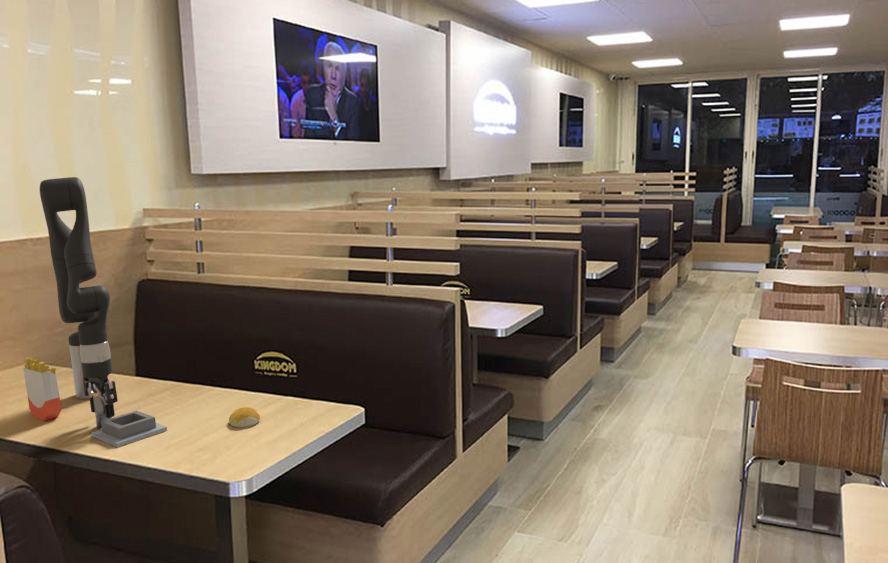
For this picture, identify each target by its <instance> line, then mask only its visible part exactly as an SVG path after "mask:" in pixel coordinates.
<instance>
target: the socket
mask: <svg viewBox="0 0 888 563" xmlns="http://www.w3.org/2000/svg"><path fill="white" fill-rule="evenodd" d="M101 426H102V429H99V430H96V431H93V432H91V437H92V438H96V439H97V440H100V441H102V442H105V443H106V444H109V445H111V446H113V445H114V447H115V448H119V446H120V447H123V446H126V445H128V444H131V442H132V443H134V441H135V442H137V441H140V440H143V439H145V438H149V437H152V436H156V435H158V434H160V433H161V434H162V433H164V432H166V431H168V427H167V426H165V425H163V424H160V423H158V422H156V416H153V415H150V414H147V413H144V412H141V411H138V410H134V411H129V412H128V413H124V414H120V415H118V416H114V417H112V418H110V419H107V420H104V421H101ZM125 444H126V445H125ZM122 445H123V446H122Z"/></svg>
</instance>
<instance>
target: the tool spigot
mask: <svg viewBox="0 0 888 563" xmlns="http://www.w3.org/2000/svg"><path fill="white" fill-rule="evenodd" d="M93 400H94V408H95V412H94V414H95V423H96V428H97V429H99V430H102V426H101V421H104V420H107V419H110V418H107V417H106V415H105V407H104V405H105V404H104V402H103V400H102V399H100V398H99V396H98V393H95V392H93ZM106 400H107V399H106ZM111 418H113V417H111Z"/></svg>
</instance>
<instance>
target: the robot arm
mask: <svg viewBox="0 0 888 563" xmlns="http://www.w3.org/2000/svg"><path fill="white" fill-rule="evenodd" d="M39 197H40V200H41V202H40V203H41V206H42V210H43V215H44V218H45V221H46V222H45V223H46V227H47V233H48V238H49V239H48V240H49V249H50V256H51V257H50V258H51V261H52V266H53V271H54V277H55V281H56V289H57V300H58V311H59V315H60V319H61V320H62V321H63V323H65V324H75V323H79V324H77V325H78V326H77V331H75V332H73V333H72V334H70V335H69V336H68V344H69V345H68V347H69V353H70V360H71V361H70V362H71V366H72V367H71V368H72V369H71V370H72V376H73V383H74V384H73V385H74V392H75V398H77V399H81V400H82V399H84V400H85V399H88V400H89V404H90V405H89V406H90V412H92V413H95V408H94V400H93V392H95V393H98V396H99V398H100V399H102V400H103V402H104V404H105V405H104V407H105V415H106V417H107V418H111V417H112V418H113V417H116V415H115V406H114V404H115V403H117V402H118V392H117V386H116V381H115V380H112V381H111V380H109V375H111V374H112V373H113V371H114V370H113V362H112V354H111V347H110V345H109V339H108V337H109V336H108V330H107V321H108V320H107V318H108V312H109V308H110V307H109V306H110V302H111V297H110V295H111V294H110V292H109V290H108V289H107V287H105V286H104V285H94V286H85V287H80V285H81V284H82V283H84V282H88V281H90V280H93V279H95V278H96V276H97V274H98V273H97V272H98V271H97V266H96V263H95V259H94V254H93V248H92V243H91V242H92V241H91V235H90V234H91V232H90V222H89V221H90V220H89V211H88V204H87V196H86V190H85V187H84V184H83V182H82V180H81V179H80V178H79V177H76V176H72V177H71V176H69V177H60V178H59V177H58V178H50V179H43V180H41V181H40V184H39ZM70 211H75V221H74V224H73V226H72V227H73V228H72V229H71V228H70V227H69V226H68V225H67V224H66V223H65V221H63V220H62V218H61V217H60V216H59V214H58V213H60V212H70ZM106 399H107V400H106Z"/></svg>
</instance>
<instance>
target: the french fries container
mask: <svg viewBox="0 0 888 563" xmlns="http://www.w3.org/2000/svg"><path fill="white" fill-rule="evenodd" d="M24 362H25V363H24V367H23V374H24V380H25V381H24V382H25V389H26V395H27V401H28V408H29V410H30V412H31V414H32V415H33V417H34V418H35V419H37V420H40V421H41V422H42V421H43V422H45V421H47V420H51V419H55V418H57V417H60V414H61V412H62V404H61V397H60V390H59V386H58V380H57V375H56V367H51V368H50V365H47V364H45V362H44V361H39V362H38V359H34V358H32V357H31V356H30V357H29V356H28V357H24Z"/></svg>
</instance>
